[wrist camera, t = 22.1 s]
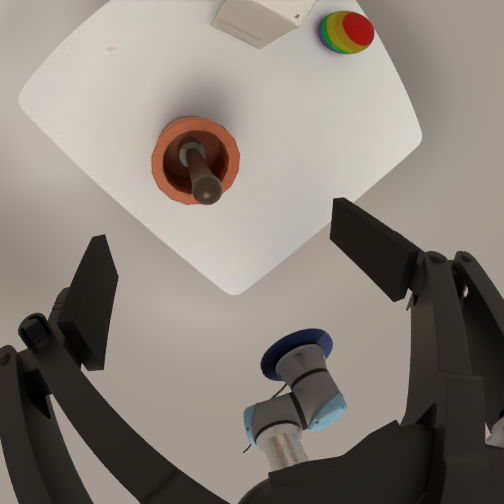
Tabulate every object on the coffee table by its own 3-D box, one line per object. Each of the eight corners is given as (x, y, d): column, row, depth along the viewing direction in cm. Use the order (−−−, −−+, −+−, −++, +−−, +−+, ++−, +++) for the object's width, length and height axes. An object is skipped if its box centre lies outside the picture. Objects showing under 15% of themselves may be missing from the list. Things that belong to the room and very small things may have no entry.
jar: (205, 187, 44) (217, 215, 34) (147, 166, 39) (139, 188, 29) (232, 131, 40) (254, 141, 30) (173, 106, 36) (173, 106, 26)
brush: (200, 135, 39) (231, 167, 19) (202, 158, 40) (234, 213, 21) (176, 139, 38) (181, 174, 19) (179, 161, 40) (188, 220, 20)
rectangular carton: (284, 12, 31) (332, -16, 19) (259, 50, 34) (301, 28, 22) (236, -13, 27) (267, -54, 15) (208, 25, 30) (228, -11, 18)
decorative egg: (326, 62, 37) (361, 57, 29) (304, 23, 33) (335, 9, 25) (358, 48, 37) (395, 44, 28) (338, 12, 32) (372, 0, 24)
